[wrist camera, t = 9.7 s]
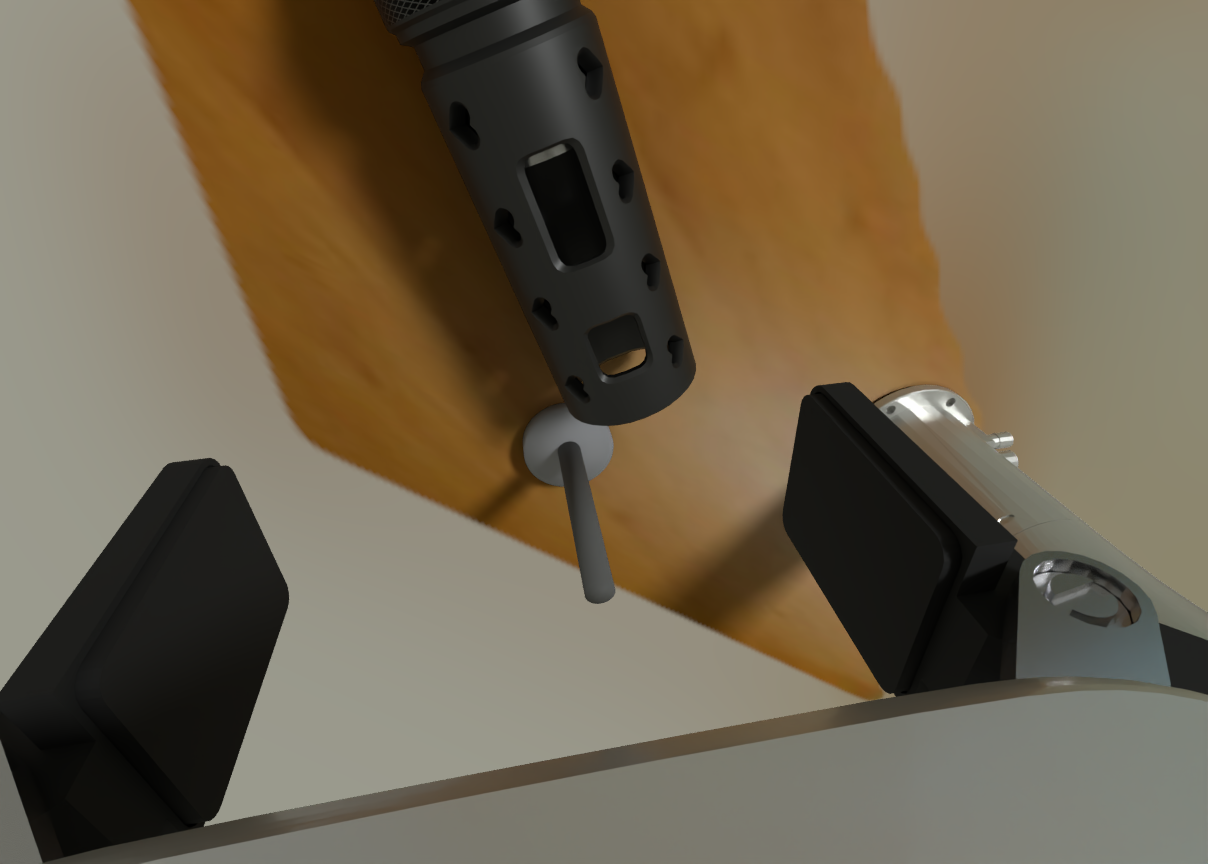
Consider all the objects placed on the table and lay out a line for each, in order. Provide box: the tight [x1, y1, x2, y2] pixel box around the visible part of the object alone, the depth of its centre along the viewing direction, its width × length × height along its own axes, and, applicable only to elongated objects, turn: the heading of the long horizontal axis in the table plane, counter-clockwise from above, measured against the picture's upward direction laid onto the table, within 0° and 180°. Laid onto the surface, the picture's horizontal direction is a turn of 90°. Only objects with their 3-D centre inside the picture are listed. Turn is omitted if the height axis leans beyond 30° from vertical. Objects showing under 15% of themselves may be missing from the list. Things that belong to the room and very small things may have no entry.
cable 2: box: [523, 403, 615, 604], centre depth 42 cm, size 7×7×16 cm
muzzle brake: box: [374, 0, 696, 426], centre depth 33 cm, size 10×28×10 cm, turn 19°
